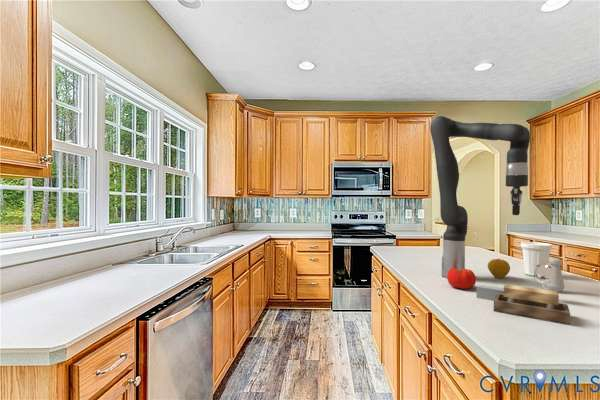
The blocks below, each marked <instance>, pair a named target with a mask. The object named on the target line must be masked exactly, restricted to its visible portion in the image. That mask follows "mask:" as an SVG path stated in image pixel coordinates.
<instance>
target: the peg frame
mask: <svg viewBox="0 0 600 400" xmlns="http://www.w3.org/2000/svg"><path fill="white" fill-rule="evenodd" d="M493 312H496V313H502V314H508V315H513V316H518V317H523V318H530V319H535V320H539V319H540V321H545V322H551V323H557V324H562V325H567V326H570V325H571V311H570V307H569V306H568V304H567V303H563V302H559V305H553V304H546V303H540V302H534V301H527V300H521V299H515V298H508V297H504V294H499V293H496V296H495V298H494V300H493Z"/></svg>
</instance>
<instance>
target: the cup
mask: <svg viewBox="0 0 600 400" xmlns="http://www.w3.org/2000/svg"><path fill="white" fill-rule="evenodd" d="M520 248H521V250H522V258H523V267H524V275H526V276H529V277H533V278H535V277H534V271H535V267H536V265H545V266H549V259H550V251H552V249H553V244H551V243H547V242H546V243H545V242H538V241H537V242H536V241H521V242H520Z"/></svg>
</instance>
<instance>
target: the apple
mask: <svg viewBox="0 0 600 400" xmlns="http://www.w3.org/2000/svg"><path fill="white" fill-rule="evenodd" d="M487 269H488V271H489V273H491V275H492V276H493V277H494V278H496V279H499V278H502V279H504V278H505V277H506V276H507V275H508V274H509V273H510V271H511V266H510V263H509V262H508V261H507V260H505V259H501V258H493V259H491V260H490V261H488V263H487Z"/></svg>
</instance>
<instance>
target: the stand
mask: <svg viewBox="0 0 600 400" xmlns="http://www.w3.org/2000/svg"><path fill="white" fill-rule="evenodd" d="M496 293H499V294H504V287H499V286H498V287H497V286H491V285H486V284H485V285H484V284H479V283H478V284H477V286H476V298H477V299H483V300H488V301H489V300H490V301H494V298H495V296H496Z"/></svg>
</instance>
